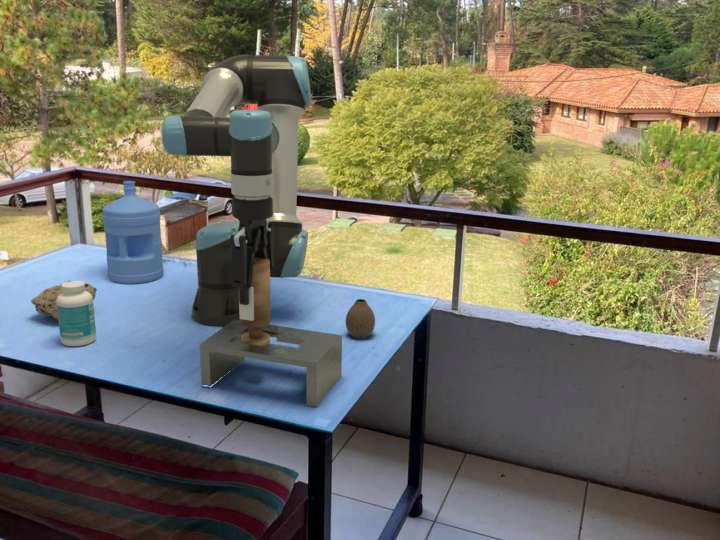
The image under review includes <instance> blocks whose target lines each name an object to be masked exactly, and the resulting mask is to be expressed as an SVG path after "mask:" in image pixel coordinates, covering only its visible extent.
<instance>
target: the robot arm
mask: <svg viewBox="0 0 720 540" xmlns="http://www.w3.org/2000/svg"><path fill="white" fill-rule="evenodd" d="M309 77H310V76H309V70H308V63H307V61H306V60H305V58H303V57H302V56H295V55H293V56H292V55H288V54H286V55H275V54H274V55H268V54H267V55H265V54H239V55H235V56H232V57H229V58H227V59H224V60H222V61H221V62H218V63H217V64H215V65H214V66H213V67H212V68H211V69H209V70H208V72H207V73H206V74H205V76H204V77H203V80H202V83H201V84H202V85H201V89H200V91H199V92H198V94H197V95H196V97H195V99H193V101H192V103H191V104H190V106H189V107H188V108H187V110H186V111H185V113H184V114H183V115H179V114H177V115H169V116H166V117H165V118H163V121H162V125H161V142H162V146H163V148H164V151H165V152H166V153H167V154H169V155H177V156H182V157H187V156H189V157H192V156H193V157H230V177H231V178H230V180H231V181H230V182H231V183H230V184H231V187H230V188H231V189H230V190H231V194H232V196H233V197H232V199H231V213H232V217H233V218H234V219H237V220H238V221H236V220H235V221H232V220H231V221H222V222H216V223H212V224H209V225H208V224H207V225H205V226H203V227H201V228H200V229H199V230H198V231H197V232H196V240H195V250H196V251H195V252H196V270H197V271H196V272H197V290H196V293H195V297H194V299H193V304H192V306H191V307H192V308H191V313H192V315H191V316H192V317H191V318H192V319H193V321H195V322H197V323H199V324H201V325H205V326H213V327H215V326H216V327H224V326H226V325H227V324H229V323H230V322H231V321H233V320H234V319H235V320H240V319H243V320H250V321H253V320H254V287H251V282H252V273H253V264H254V257H258V258H267V259H269V260H270V278H275V279H276V278H279V279H285V278H297V277H299V276H301V274H302V272H303V269H304V266H305V261H306V256H307V249H308V238H309V232H308V231H307V230H305V229H303V222H302V221H301V219H299V218H298V217H297V200H298V199H297V198H298V165H299V163H298V160H299V158H298V155H299V153H298V151H299V121H300V119H301V118H302V117H303V116H304V115H305V114H306V107H309V106H311V105H312V94H311V84H310V78H309ZM239 104H243V105H244V104H245V105H246V104H247V105H257V108H256V109H257V110H256V109H240V110H239V109H236V110H233V111H232V112H231V109H232V108H233V107H235V106H237V105H239ZM229 113H230V114H229ZM228 115H229V116H228ZM239 314H240V316H239Z"/></svg>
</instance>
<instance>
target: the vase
mask: <svg viewBox="0 0 720 540" xmlns="http://www.w3.org/2000/svg"><path fill="white" fill-rule="evenodd" d="M375 325H376V317H375V313H374V311H373V309H372V307H370V305H369V304H368V302H367V300H366V299H364V298H357V299H356V300H355V301H354V303H353V305H351V307H350V308H349V309H348V311H347V313H346V315H345V326H346V330H347V332H348V334H349V335H350V336H351V337H352V338H355V339H360V340H361V339H366V338H368V337H369V336H370V335H372V333H373V332H374V329H375Z"/></svg>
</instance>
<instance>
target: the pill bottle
mask: <svg viewBox="0 0 720 540" xmlns="http://www.w3.org/2000/svg"><path fill="white" fill-rule="evenodd" d="M70 281H71V282H68V281H66V283H65V282H64V283H61V284H62V285H61V284H60V285H61V286H62V291H63V293H62V294H60V295H59V296H58V297H57V299H56V304H57V312H58V319H57V321H58V329H59V337H60V342H61V343H62V344H63V345H64V346H67V347H80V346H86V345H89V344H91V343H93V342H94V341H95V340H96V338H97V328H96V320H95V319H96V318H95V311H94V310H95V309H94V308H95V307H94V300H93V297H92V295H91V294H90V293H89V292H87V291H84V290H85V284H84V283H85V282H84V281H81V280H73V281H72V280H70Z"/></svg>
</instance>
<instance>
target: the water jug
mask: <svg viewBox="0 0 720 540" xmlns="http://www.w3.org/2000/svg"><path fill="white" fill-rule="evenodd" d="M122 184H123V192H124V193H123V196H122V197H119V198H117V199H116V200H114V201H112V202H110V203H107V204H106V205H104V206H103V207H102V209H101V210H102V223H103V231H104V233H105V249H106V265H107V269H106V270H107V271H106V273H107V278H108V280H110V281H112V282H114V283H118V284H125V285H126V284H127V285H135V284H137V285H138V284H145V283H149V282H153V281H156V280H158V279H160V278H161V277H162V276H163V275H164V273H165V271H164V270H165V269H164V261H163V241H162V233H161V232H162V231H161V212H160V206H159V205H158V204H157V203H155V202H153V201H151V200H148V199H145V198H143V197H141V196H138V195H137V194H136V186H135V185H136V181H135V180H124V181H123V182H122Z"/></svg>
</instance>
